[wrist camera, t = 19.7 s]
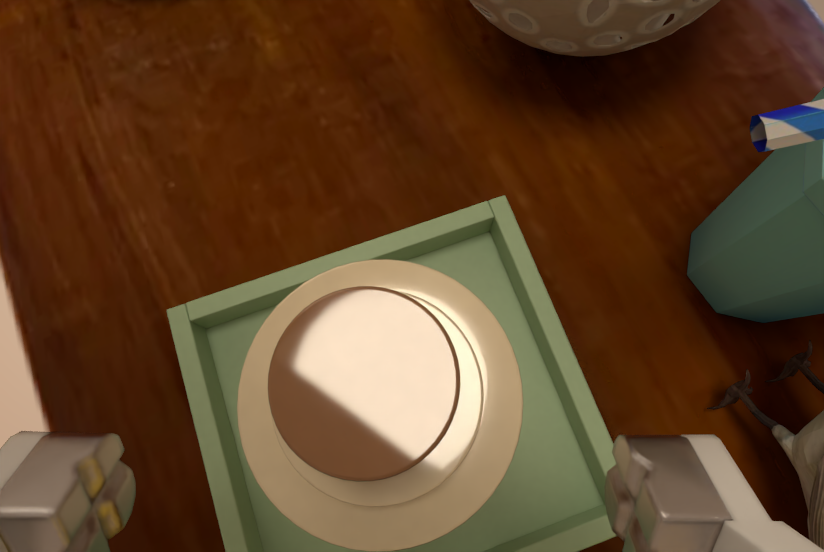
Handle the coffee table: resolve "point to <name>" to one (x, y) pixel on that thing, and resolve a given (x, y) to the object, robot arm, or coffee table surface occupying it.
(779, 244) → the cup
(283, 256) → the coffee table surface
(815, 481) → the grey figurine
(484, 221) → the tray
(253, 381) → the bottle
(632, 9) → the ornament
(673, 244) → the coffee table surface
